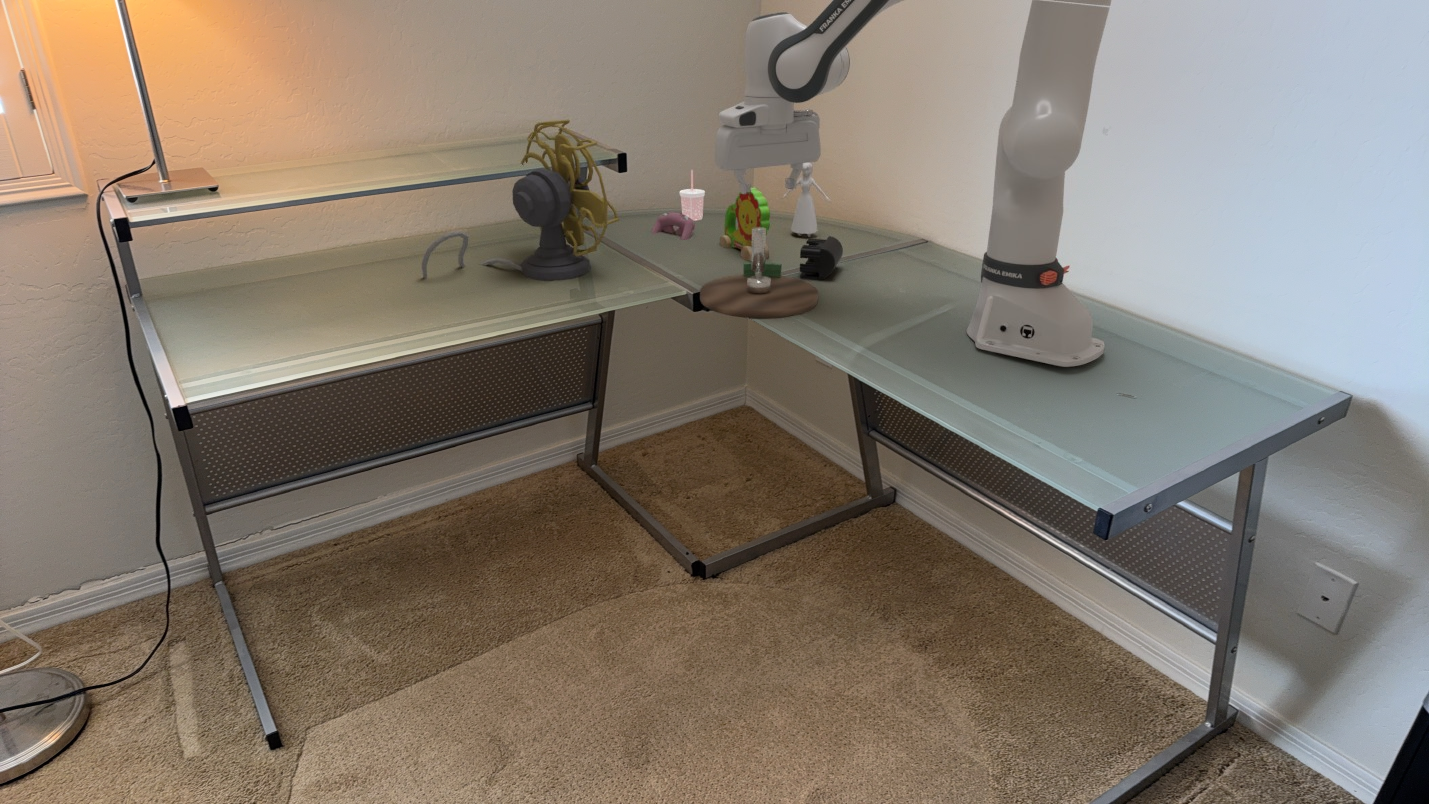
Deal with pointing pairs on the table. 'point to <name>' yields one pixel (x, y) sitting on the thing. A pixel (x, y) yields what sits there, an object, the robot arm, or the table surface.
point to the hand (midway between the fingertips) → (768, 190)
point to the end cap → (820, 258)
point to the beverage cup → (692, 202)
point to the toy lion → (745, 222)
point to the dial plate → (759, 295)
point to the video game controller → (674, 224)
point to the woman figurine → (805, 204)
